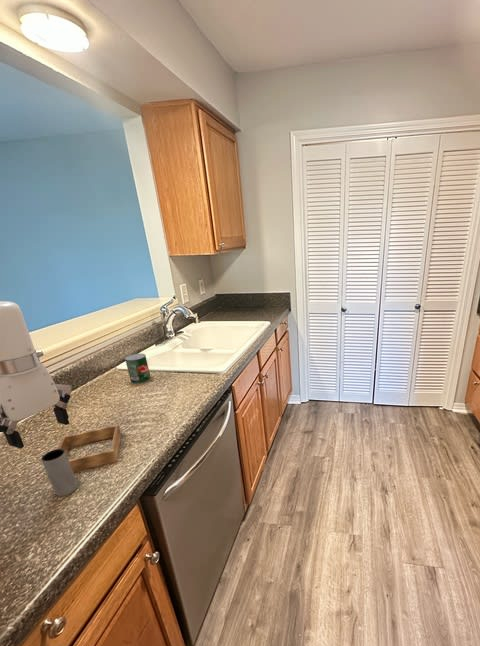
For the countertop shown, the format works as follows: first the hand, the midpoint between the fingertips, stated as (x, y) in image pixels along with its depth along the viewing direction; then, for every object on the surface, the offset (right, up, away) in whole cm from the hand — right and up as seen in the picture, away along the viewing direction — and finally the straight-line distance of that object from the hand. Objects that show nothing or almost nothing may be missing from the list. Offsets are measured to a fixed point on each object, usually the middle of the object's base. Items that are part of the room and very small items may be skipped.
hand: (42, 434), depth 72 cm
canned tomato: (-10, +9, +66) cm, 68 cm away
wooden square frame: (-2, -9, +19) cm, 21 cm away
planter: (+1, -15, +6) cm, 16 cm away
